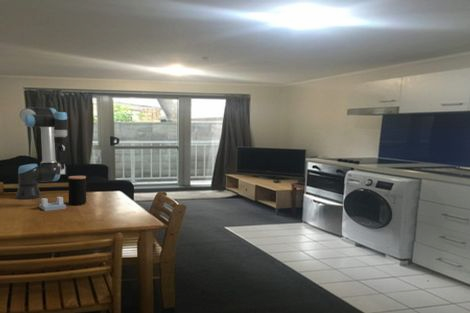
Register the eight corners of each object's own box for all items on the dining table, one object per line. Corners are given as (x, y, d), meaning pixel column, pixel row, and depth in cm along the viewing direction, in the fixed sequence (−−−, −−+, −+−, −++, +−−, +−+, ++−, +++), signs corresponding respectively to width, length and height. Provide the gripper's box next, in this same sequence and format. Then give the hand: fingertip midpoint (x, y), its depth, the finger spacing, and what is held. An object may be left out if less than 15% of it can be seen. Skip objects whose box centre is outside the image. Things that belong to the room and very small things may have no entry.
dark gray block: (55, 174, 235) (55, 166, 234) (64, 173, 238) (63, 165, 238) (57, 174, 232) (57, 166, 231) (66, 174, 235) (65, 166, 235)
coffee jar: (89, 202, 247) (89, 176, 246) (81, 206, 237) (80, 178, 236) (74, 202, 248) (73, 175, 247) (65, 205, 238) (65, 177, 237)
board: (39, 206, 231) (38, 197, 231) (59, 204, 239) (59, 195, 239) (44, 210, 221) (44, 201, 220) (66, 208, 229) (66, 198, 228)
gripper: (50, 136, 237) (51, 172, 239) (58, 136, 224) (59, 175, 226) (62, 136, 242) (63, 172, 244) (71, 137, 229) (71, 174, 231)
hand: (61, 173), depth 235 cm, fingers closed on dark gray block, 4 cm apart
